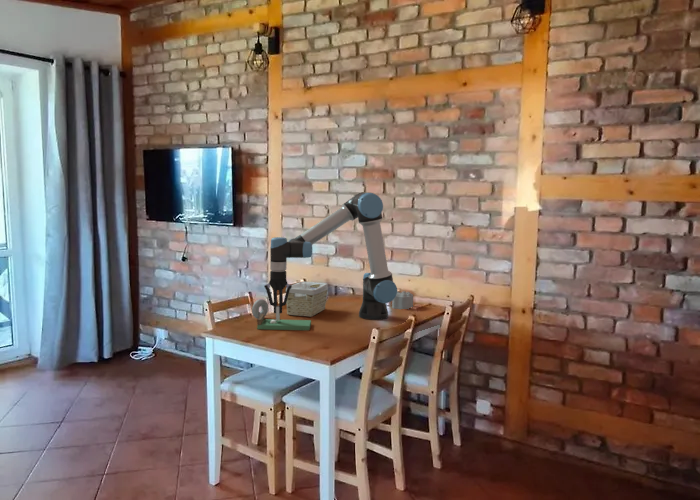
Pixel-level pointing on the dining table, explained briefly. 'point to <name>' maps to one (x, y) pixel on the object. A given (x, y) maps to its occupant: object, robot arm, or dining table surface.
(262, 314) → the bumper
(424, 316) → the dining table surface
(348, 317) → the dining table surface
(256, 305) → the donut
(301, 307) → the storage basket
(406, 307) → the lumpy-topped squat cylinder
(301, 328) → the mat
